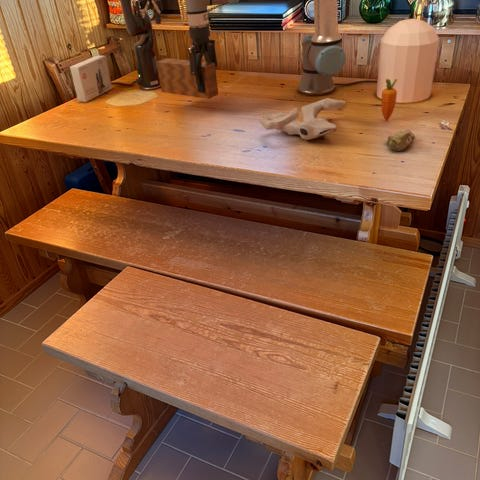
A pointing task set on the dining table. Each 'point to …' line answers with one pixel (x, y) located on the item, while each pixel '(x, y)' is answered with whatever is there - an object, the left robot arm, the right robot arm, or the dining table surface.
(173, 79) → the box
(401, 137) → the rock
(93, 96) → the skincare box
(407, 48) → the container
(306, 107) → the beige branched piece
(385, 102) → the carrot
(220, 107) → the dining table surface
